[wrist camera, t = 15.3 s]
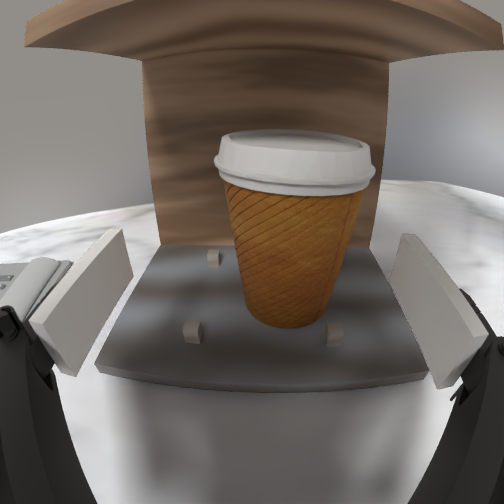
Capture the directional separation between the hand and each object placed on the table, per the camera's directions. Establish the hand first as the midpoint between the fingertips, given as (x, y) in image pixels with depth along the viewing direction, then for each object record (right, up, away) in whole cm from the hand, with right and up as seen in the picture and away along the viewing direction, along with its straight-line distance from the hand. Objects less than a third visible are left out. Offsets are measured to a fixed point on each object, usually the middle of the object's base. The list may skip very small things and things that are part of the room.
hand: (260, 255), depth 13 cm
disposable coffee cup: (+2, -4, +9) cm, 10 cm away
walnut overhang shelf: (+1, -4, +11) cm, 11 cm away
